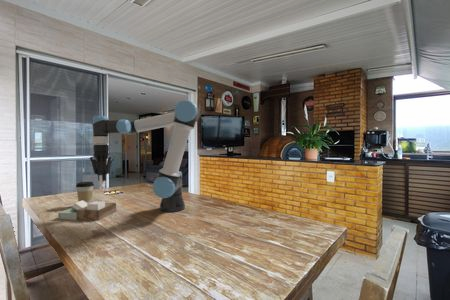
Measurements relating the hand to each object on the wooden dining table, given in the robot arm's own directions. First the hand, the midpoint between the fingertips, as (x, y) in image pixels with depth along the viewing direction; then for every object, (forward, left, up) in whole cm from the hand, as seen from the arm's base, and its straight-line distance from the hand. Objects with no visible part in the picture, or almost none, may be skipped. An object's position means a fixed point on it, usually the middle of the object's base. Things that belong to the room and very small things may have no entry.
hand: (102, 186), depth 127 cm
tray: (+13, +1, -16) cm, 21 cm away
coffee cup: (+22, -16, -16) cm, 32 cm away
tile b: (0, +5, -11) cm, 12 cm away
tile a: (+14, -3, -11) cm, 18 cm away
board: (+2, +1, -16) cm, 16 cm away
